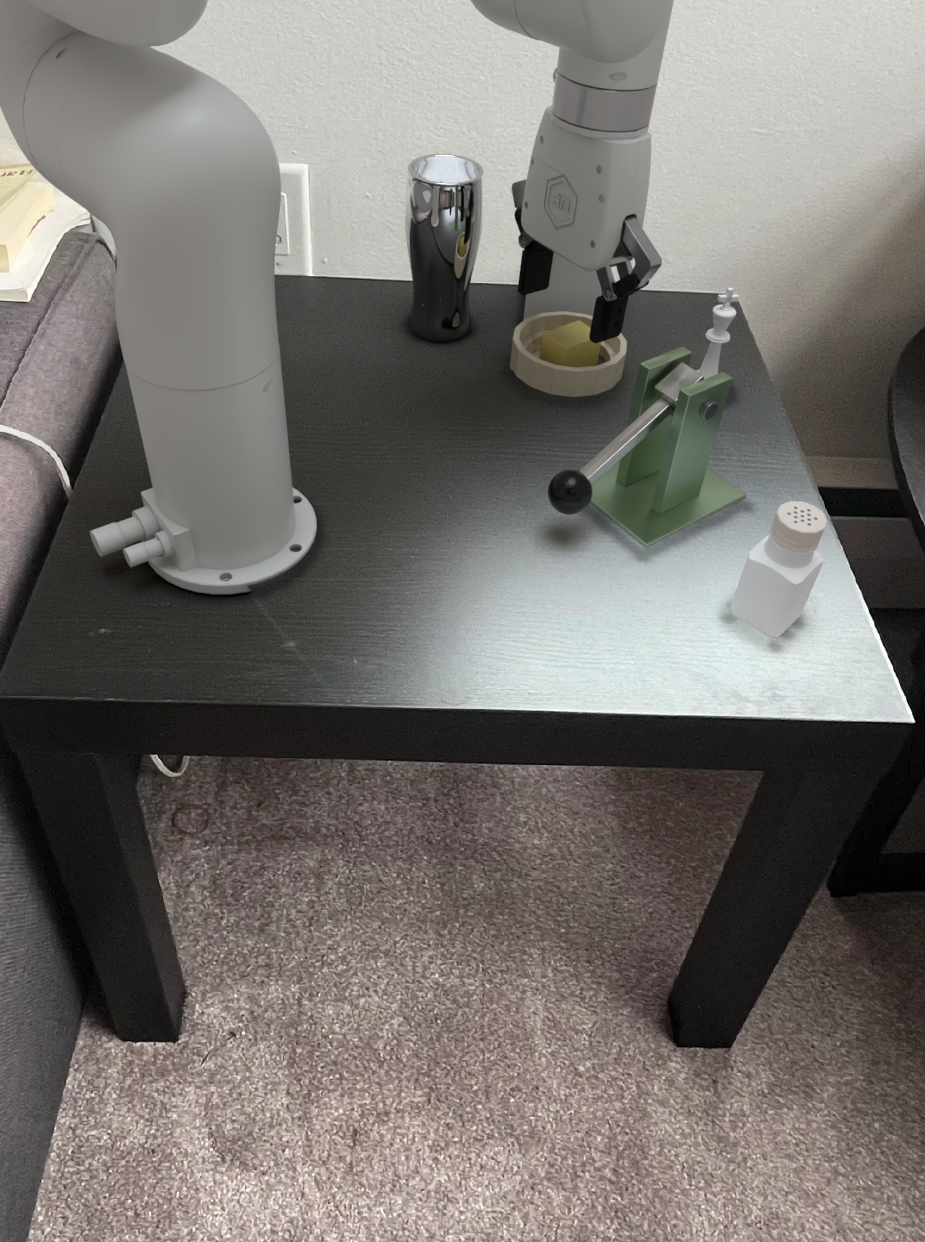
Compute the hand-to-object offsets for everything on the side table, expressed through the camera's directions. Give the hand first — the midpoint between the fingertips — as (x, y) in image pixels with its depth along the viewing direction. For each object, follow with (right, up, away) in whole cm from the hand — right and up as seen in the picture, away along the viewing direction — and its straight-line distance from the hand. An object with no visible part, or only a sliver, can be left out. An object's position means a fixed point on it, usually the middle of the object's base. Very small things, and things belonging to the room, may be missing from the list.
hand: (567, 314), depth 86 cm
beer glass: (-11, +2, +10) cm, 15 cm away
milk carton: (+1, +4, +13) cm, 14 cm away
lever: (+3, -15, -14) cm, 20 cm away
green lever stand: (+6, -17, -7) cm, 20 cm away
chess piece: (+13, -6, +4) cm, 15 cm away
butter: (+1, -4, +5) cm, 6 cm away
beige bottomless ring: (0, -4, +5) cm, 6 cm away
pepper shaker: (+12, -27, -16) cm, 34 cm away
